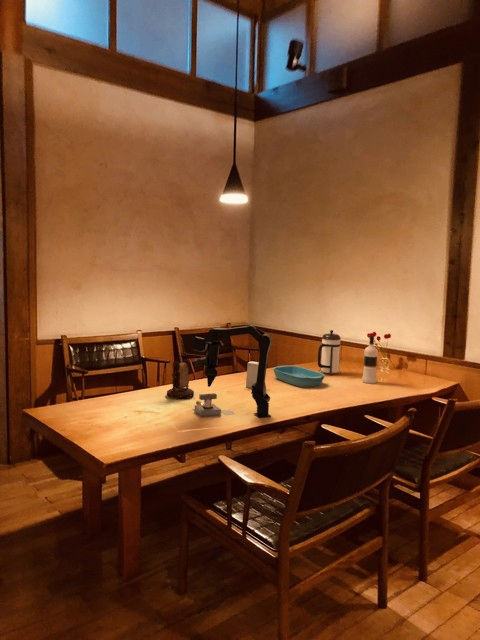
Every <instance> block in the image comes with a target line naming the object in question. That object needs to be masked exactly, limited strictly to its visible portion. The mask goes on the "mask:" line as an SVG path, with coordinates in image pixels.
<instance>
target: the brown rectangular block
mask: <svg viewBox="0 0 480 640" xmlns="http://www.w3.org/2000/svg"><path fill="white" fill-rule="evenodd" d="M217 395H218V394H217V393H201V394H199V396H198V399H199V401H203V404H204V409H211V404H213V403H212V400H217V399H218V396H217Z"/></svg>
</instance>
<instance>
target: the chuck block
mask: <svg viewBox="0 0 480 640" xmlns="http://www.w3.org/2000/svg"><path fill="white" fill-rule="evenodd" d="M221 410H222V409H221V408H220V407H218V406H217V405H216V404H214V403H212V404H211V409H204V403H203V402H201V400H197V401H196V402H195V405H194V408H192V411H193V412H194V413H195V414H197V415H198V416H199V417H200V418H210V417H220V416H222V412H221Z"/></svg>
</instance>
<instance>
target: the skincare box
mask: <svg viewBox="0 0 480 640" xmlns="http://www.w3.org/2000/svg"><path fill="white" fill-rule="evenodd" d="M258 364H259V361H258V362H257V361H249V362H247V367H246V378H245V379H246V381H245V388H250V389H252V385H253V384H254V383H256V381H257V372H258Z"/></svg>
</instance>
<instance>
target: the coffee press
mask: <svg viewBox="0 0 480 640" xmlns="http://www.w3.org/2000/svg"><path fill="white" fill-rule="evenodd" d="M329 332H330V333H324V334H323V335H322V336H321V344H320V345H319V347H318V350H317V366H318V368H319V370H318V372H319V373H326V374H329V376H333V374H336V373H337V374H338V375H341V371H340V358H341V357H340V356H341V341H342V338H341V336H340V335H339V334H338V333H337V334H336V333H334V330H332V329H331V330H330V331H329ZM338 372H339V373H338Z"/></svg>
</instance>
